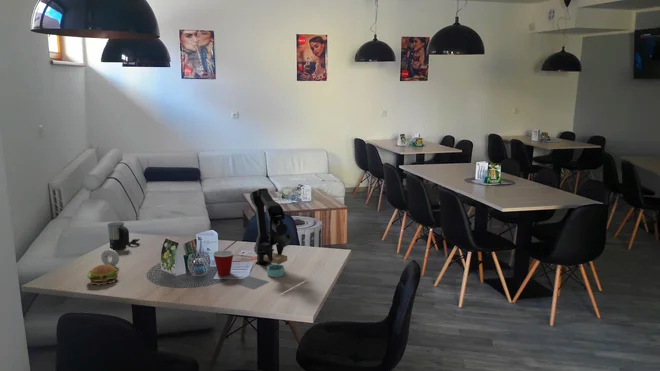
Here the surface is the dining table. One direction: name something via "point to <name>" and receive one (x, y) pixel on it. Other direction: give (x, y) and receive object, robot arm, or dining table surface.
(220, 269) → the plastic cup
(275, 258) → the board
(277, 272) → the bowl
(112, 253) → the donut
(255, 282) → the mat
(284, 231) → the robot arm
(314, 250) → the dining table surface
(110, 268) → the food
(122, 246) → the milk frother
